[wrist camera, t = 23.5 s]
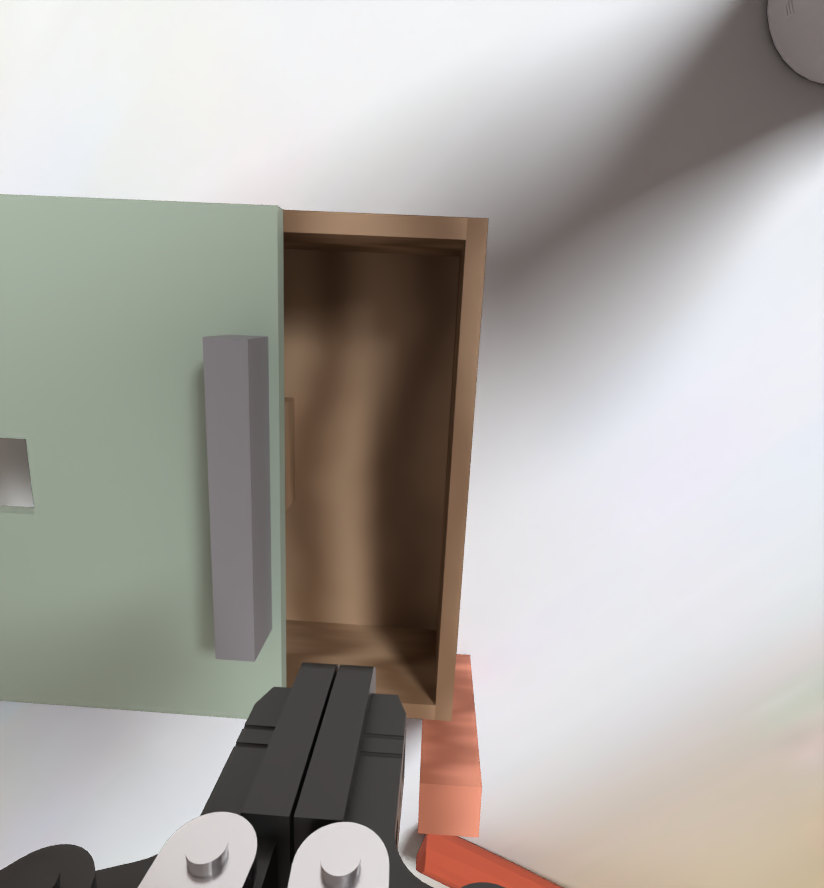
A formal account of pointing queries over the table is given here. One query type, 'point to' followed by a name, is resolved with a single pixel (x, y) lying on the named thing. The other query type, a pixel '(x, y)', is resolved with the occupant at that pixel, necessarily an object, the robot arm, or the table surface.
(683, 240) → the table surface
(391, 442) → the toolbox
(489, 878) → the mallet
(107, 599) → the toolbox lid
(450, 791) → the pin
